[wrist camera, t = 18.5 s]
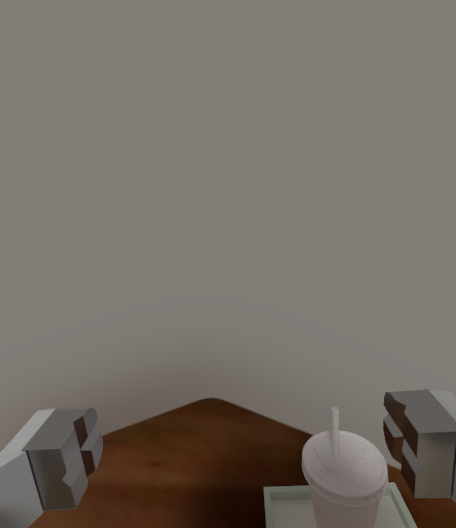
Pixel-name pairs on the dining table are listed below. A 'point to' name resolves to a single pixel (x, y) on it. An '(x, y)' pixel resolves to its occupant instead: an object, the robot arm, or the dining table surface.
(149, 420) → the dining table surface
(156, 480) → the dining table surface
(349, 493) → the smoothie
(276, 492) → the caster cart
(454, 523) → the dining table surface
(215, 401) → the dining table surface
